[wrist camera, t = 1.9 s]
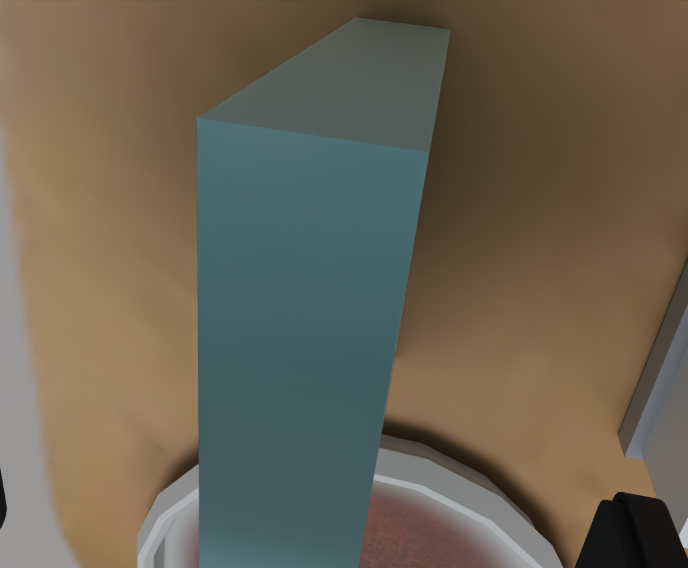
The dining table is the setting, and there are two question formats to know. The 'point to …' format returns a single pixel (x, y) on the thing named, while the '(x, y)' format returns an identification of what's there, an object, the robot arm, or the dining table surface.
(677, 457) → the dish rack
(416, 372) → the dining table surface
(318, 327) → the teal upright slab
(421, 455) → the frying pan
